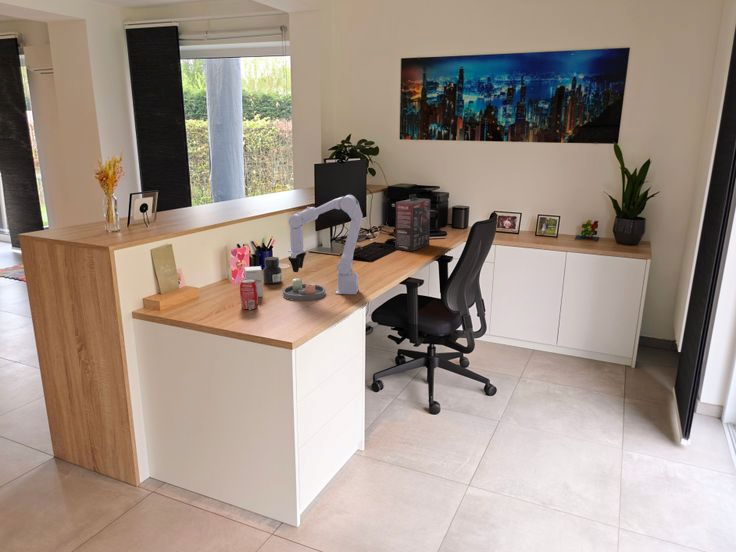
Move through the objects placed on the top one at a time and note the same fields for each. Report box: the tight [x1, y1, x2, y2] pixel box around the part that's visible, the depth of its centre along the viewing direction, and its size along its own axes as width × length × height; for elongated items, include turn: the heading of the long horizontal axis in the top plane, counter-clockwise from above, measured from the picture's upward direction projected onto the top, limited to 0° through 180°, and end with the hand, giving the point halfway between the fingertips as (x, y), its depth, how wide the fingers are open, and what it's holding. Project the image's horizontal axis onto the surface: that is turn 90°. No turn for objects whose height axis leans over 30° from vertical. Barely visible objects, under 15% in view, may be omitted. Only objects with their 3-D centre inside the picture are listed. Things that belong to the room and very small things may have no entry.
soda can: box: [239, 278, 259, 310], centre depth 230 cm, size 7×7×12 cm
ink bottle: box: [262, 256, 283, 285], centre depth 269 cm, size 10×9×12 cm
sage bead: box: [291, 278, 303, 292], centre depth 254 cm, size 4×4×5 cm
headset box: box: [394, 193, 431, 252], centre depth 344 cm, size 25×12×33 cm, turn 148°
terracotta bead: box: [305, 283, 316, 295], centre depth 245 cm, size 4×4×5 cm
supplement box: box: [243, 265, 264, 298], centre depth 248 cm, size 7×7×13 cm
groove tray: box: [282, 283, 326, 301], centre depth 250 cm, size 19×19×2 cm
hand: (297, 269), depth 254 cm, fingers open, 7 cm apart
